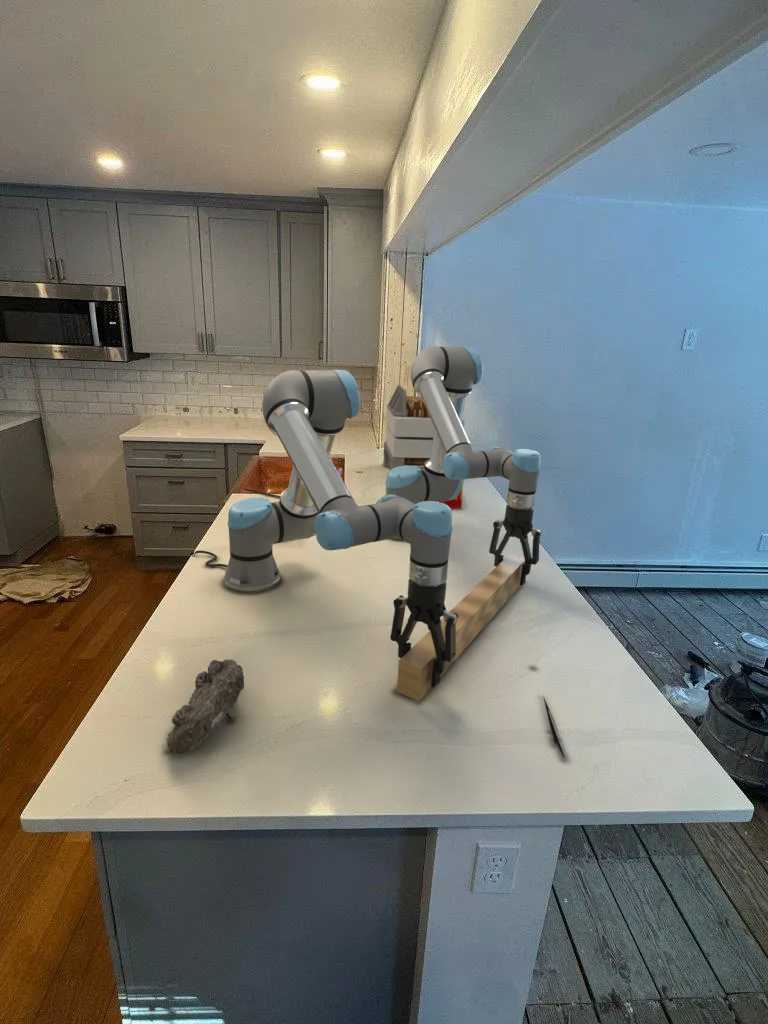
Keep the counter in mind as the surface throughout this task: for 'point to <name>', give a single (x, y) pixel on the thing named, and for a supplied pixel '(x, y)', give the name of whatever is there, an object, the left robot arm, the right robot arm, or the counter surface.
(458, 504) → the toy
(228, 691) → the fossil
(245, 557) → the left robot arm
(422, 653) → the post
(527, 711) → the counter surface
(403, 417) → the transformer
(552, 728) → the feather
